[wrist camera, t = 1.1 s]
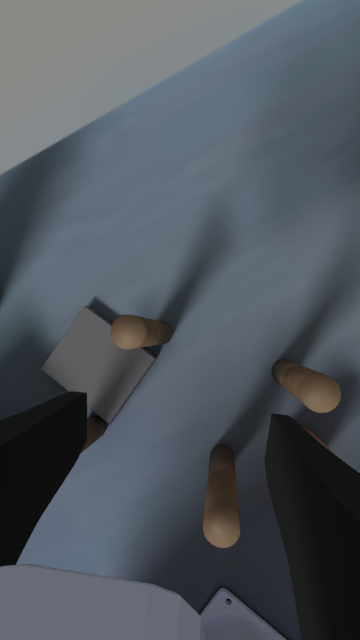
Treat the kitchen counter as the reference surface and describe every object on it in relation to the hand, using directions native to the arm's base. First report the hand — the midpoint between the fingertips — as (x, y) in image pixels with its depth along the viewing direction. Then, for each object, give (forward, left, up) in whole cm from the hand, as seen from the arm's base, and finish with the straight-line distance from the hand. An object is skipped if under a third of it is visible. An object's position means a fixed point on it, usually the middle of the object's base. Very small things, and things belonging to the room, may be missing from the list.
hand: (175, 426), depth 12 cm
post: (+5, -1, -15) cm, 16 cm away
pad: (+8, +5, -15) cm, 18 cm away
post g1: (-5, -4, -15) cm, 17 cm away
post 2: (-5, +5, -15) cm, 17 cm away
